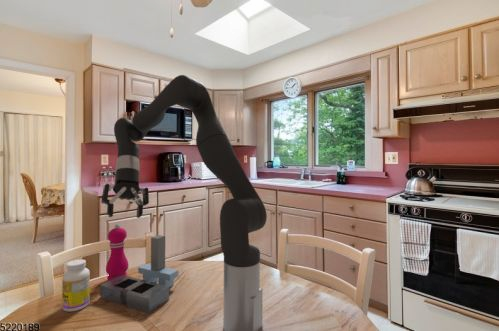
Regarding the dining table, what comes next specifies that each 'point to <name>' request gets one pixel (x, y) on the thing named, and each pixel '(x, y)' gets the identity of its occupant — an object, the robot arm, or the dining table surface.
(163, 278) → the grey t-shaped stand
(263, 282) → the dining table surface
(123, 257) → the pepper mill
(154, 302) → the dark grey rectangular block
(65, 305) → the supplement bottle
